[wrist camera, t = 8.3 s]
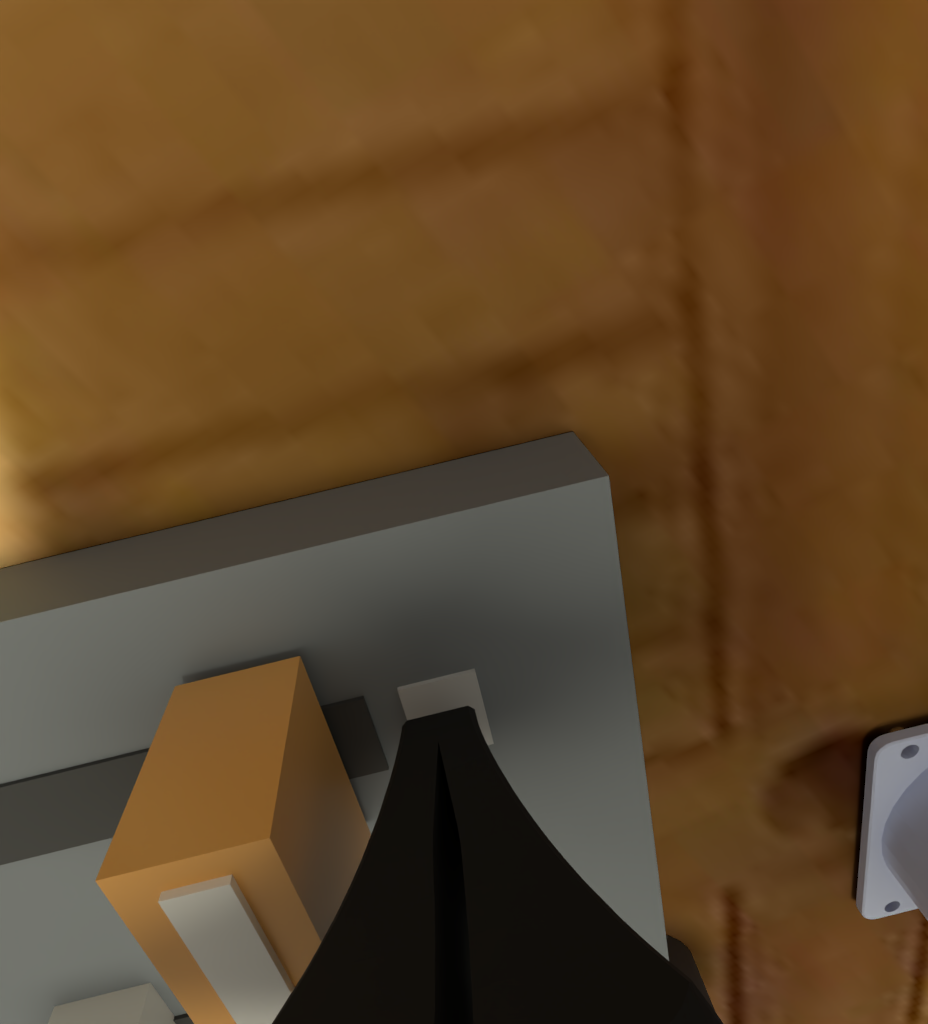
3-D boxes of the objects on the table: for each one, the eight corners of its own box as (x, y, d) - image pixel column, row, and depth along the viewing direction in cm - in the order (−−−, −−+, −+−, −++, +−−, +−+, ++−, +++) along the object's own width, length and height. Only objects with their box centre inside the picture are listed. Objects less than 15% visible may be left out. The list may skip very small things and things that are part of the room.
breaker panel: (572, 431, 14) (704, 593, 9) (641, 901, 21) (739, 1165, 16) (-261, 631, 14) (-705, 937, 8) (83, 1040, 21) (-29, 1361, 15)
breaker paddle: (300, 655, 13) (267, 848, 9) (370, 834, 15) (368, 1047, 11) (174, 686, 13) (91, 891, 9) (263, 860, 15) (226, 1082, 11)
